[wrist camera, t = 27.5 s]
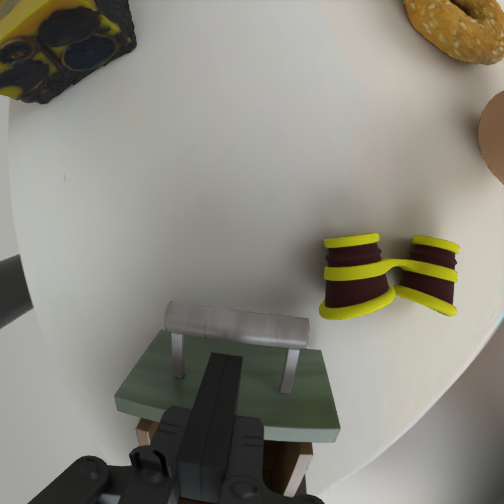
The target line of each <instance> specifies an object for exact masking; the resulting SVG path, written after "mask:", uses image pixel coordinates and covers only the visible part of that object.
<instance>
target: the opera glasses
mask: <svg viewBox="0 0 504 504" xmlns="http://www.w3.org/2000/svg"><path fill="white" fill-rule="evenodd" d="M379 240H380V237H379V233H369V234H361V235H353V236H345V237H338V238H331V239H325V240H324V245H325V247H326V248H329V254H328V255H327V256H326V259H327V260H328V265H327V266H325V269H324V279H326V280H327V284H326V296H325V300H324V301H323V302H322V303H321V305H320V307H319V313H320V315H321V316H322V317H323V318H325V319H330V320H342V319H349V318H355V317H359V316H363V315H366V314H369V313H372V312H374V311H377V310H379V309H381V308H383V307H385V306H387V305H388V304H389V303H391V302H392V301H393V300H394V298H395V295H397V296H400V297H402V298H405V299H408V300H411V301H414V302H416V303H419V304H422V305H424V306H426V307H429V308H431V309H433V310H435V311H437V312H439V313H441V314H443V315H446V316H455V314H456V312H457V308H456V307H455V306H453V294H454V282H457V271H455V265H456V264H457V261H456V260H455V254H458V253H459V245H457V244H455V243H453V242H450V241H447V240H443V239H439V238H434V237H428V236H414V237H413V242H412V243H413V244H414V245H415V247H414V250H412V251H411V252H410V254H411V257H410V260H406V259H394V258H381V257H380V253H381V249H379V248H378V246H377V243H376V242H378V241H379ZM394 266H400V267H401V268H402V269H403V270H405V272H404V274H403V277H402V279H401V281H400V284H399V285H398V284H396V285H394V287H392V286H389V285H388V281H387V278H386V274H385V273H386V272H387V271H388V270H389V269H391V268H392V267H394Z"/></svg>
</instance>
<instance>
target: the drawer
mask: <svg viewBox="0 0 504 504" xmlns="http://www.w3.org/2000/svg"><path fill="white" fill-rule="evenodd" d="M165 329H166V331H165V330H160V332H159V333H158V335H157V336H156V337H155V339H154V340H153V342H152V343H151V344H150V346H149V347H148V349H147V350H146V351H145V353H144V354H143V355H142V357H141V358H140V360H139V361H138V363H137V364H136V365H135V367H134V368H133V370H132V371H131V372H130V374H129V375H128V377H127V378H126V380H125V381H124V382H123V384H122V385H121V387H120V388H119V390H118V391H117V392H116V394H115V396H114V397H115V401H116V406H117V410H118V411H121V412H124V413H127V414H131V415H134V416H137V417H141V419H140V421H139V423H138V425H137V427H136V432H137V436H138V441H139V445H140V446H144V445H150V443H151V440H152V438H153V436H154V433H155V431H156V430H157V427H158V424H159V423H160V420H161V418H162V415H163V413H164V412H165V411H166V410H167V409H168V408H170V407H171V406H172V405H174V406H178V407H183V408H189V409H192V408H193V405H194V402H195V399H196V396H197V393H198V391H199V388H200V385H201V382H202V379H203V376H204V373H205V370H206V367H207V364H208V361H209V358H210V355H211V352H214V353H221V354H228V355H235V356H243V362H242V371H241V380H240V389H239V398H238V405H237V411H236V415H237V416H246V417H255V418H260V420H261V422H262V424H263V426H264V445H263V469H262V478H263V481H264V483H265V485H266V486H267V487H268V488H269V489H270V490H272V491H273V492H275V493H278V494H281V495H284V496H287V497H291V498H292V497H294V495H295V493H296V491H297V489H298V487H299V485H300V483H301V481H302V479H303V476H304V474H305V472H306V470H307V468H308V465H309V463H310V461H311V458H312V456H313V448H312V442H335V440H336V438H337V436H338V433H339V431H340V429H341V428H340V423H339V419H338V415H337V411H336V407H335V403H334V399H333V395H332V391H331V387H330V383H329V379H328V375H327V371H326V367H325V363H324V360H323V356H322V352H321V350H311V349H305V348H306V346H307V342H308V337H309V320H308V318H301V317H291V316H281V315H272V314H263V313H254V312H246V311H238V310H230V309H223V308H216V307H209V306H202V305H195V304H188V303H182V302H175V301H170V302H169V304H168V306H167V309H166V313H165ZM179 498H181V499H185V500H190V501H195V502H200V503H206V504H218V503H212V502H206V501H200V500H194V499H189V498H185V497H181V494H180V495H179Z"/></svg>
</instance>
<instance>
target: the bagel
mask: <svg viewBox="0 0 504 504" xmlns="http://www.w3.org/2000/svg"><path fill="white" fill-rule="evenodd" d="M403 4H404V5H405V7H406V9H407V16H408V18H409V19H410V21H411V23H412V25H413V27H414V28H415V29H416V30H417V31H418V32H419V33H421V34H422V35H423V36H424V37H425V38H426V39H427V40H429V41H430V42H431V43H433V44H434V45H435V46H436V47H438V48H439V49H440V50H441V51H443V52H445V53H447V54H448V55H449V56H450V57H452V58H455V59H458V60H460V61H464V62H469V63H474V64H483V65H488V66H489V65H491V64H495V63H497V62H499V61H501V60H502V59H503V58H504V13H503V11H502V9H501V7H500V5H499V4H498V3H497V1H496V0H404V1H403Z"/></svg>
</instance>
